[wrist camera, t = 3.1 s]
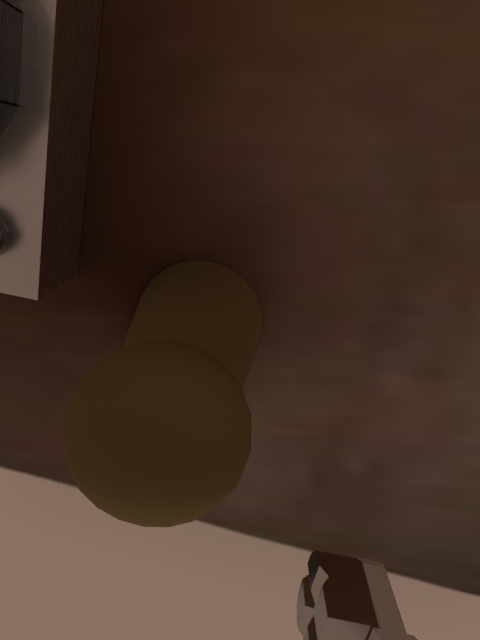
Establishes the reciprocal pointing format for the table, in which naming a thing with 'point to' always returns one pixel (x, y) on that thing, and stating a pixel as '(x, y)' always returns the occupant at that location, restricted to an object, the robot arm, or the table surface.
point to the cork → (169, 401)
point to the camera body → (44, 138)
